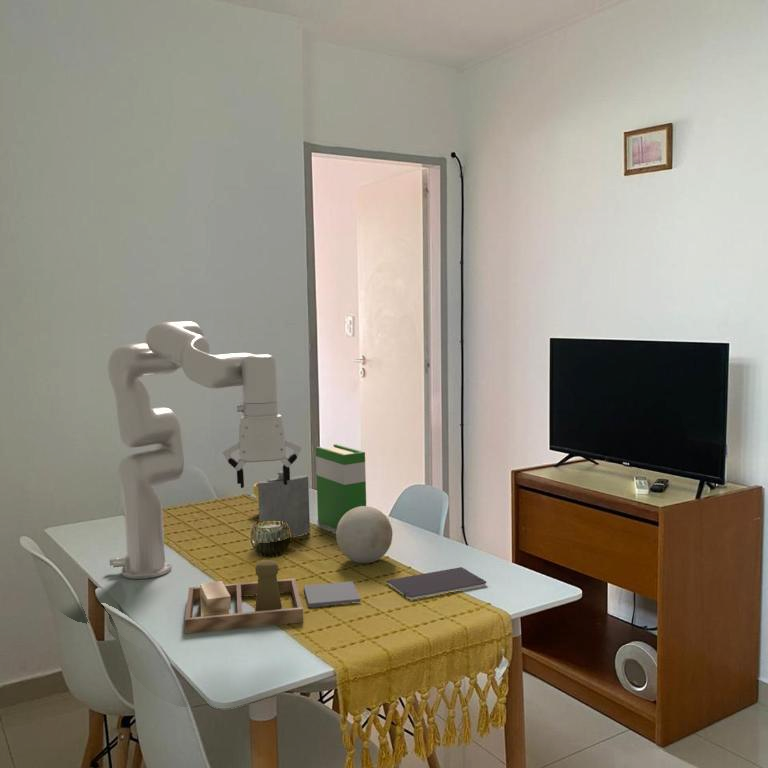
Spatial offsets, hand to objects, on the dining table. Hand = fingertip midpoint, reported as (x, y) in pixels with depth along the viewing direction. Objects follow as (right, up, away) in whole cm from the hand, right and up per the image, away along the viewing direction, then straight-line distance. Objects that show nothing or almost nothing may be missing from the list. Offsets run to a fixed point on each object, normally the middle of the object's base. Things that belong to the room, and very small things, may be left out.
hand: (263, 485), depth 182 cm
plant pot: (-11, -20, +87) cm, 90 cm away
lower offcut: (-11, -30, +1) cm, 32 cm away
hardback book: (+14, -22, +70) cm, 75 cm away
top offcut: (-11, -27, 0) cm, 29 cm away
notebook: (+40, -27, +15) cm, 51 cm away
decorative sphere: (+22, -25, +34) cm, 48 cm away
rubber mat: (+15, -28, +9) cm, 33 cm away
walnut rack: (-5, -29, +2) cm, 29 cm away
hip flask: (-2, -23, +59) cm, 63 cm away
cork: (+1, -29, +3) cm, 29 cm away
